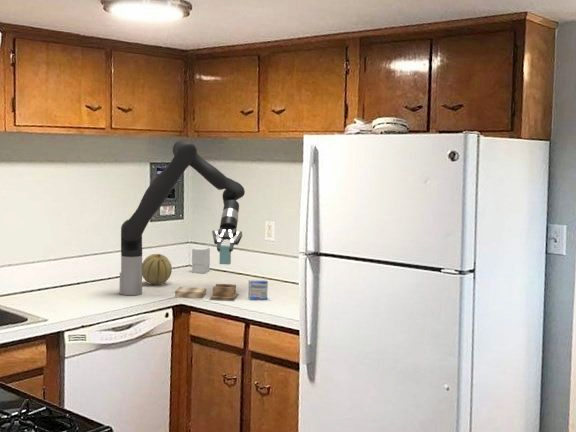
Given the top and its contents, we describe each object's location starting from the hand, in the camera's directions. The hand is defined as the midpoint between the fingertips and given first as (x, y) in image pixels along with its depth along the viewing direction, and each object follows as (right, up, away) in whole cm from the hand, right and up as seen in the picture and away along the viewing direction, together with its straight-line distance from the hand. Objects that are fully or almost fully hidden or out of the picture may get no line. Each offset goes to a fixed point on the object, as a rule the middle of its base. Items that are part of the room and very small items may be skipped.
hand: (224, 250), depth 333 cm
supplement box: (-18, -15, +67) cm, 71 cm away
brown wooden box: (0, -21, +4) cm, 21 cm away
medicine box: (+14, -22, +2) cm, 26 cm away
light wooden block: (-15, -20, +5) cm, 26 cm away
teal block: (0, -6, +3) cm, 6 cm away
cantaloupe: (-35, -18, +31) cm, 50 cm away
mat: (0, -21, +4) cm, 21 cm away
